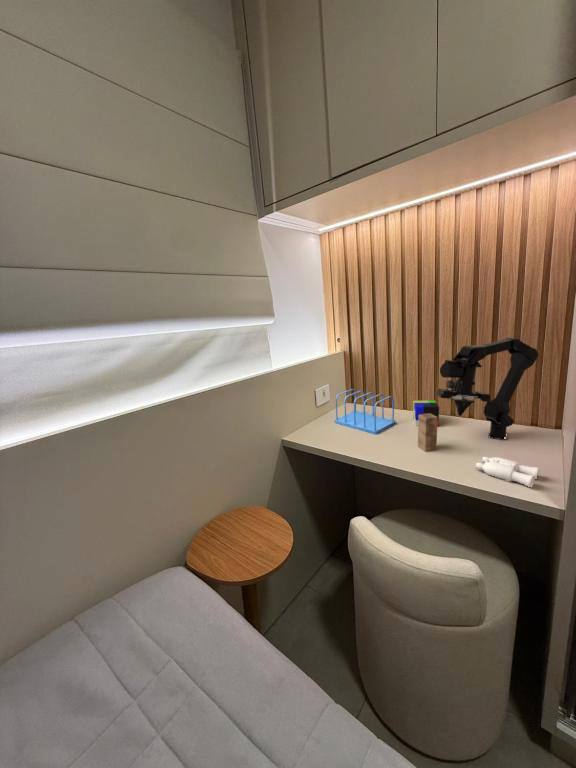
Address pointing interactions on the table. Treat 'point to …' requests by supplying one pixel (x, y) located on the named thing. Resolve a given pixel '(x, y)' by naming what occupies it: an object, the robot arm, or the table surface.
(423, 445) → the walnut block
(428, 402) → the puzzle toy
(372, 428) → the file sorter
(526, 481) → the binoculars
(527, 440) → the table surface
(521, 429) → the table surface
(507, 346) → the robot arm
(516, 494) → the table surface
